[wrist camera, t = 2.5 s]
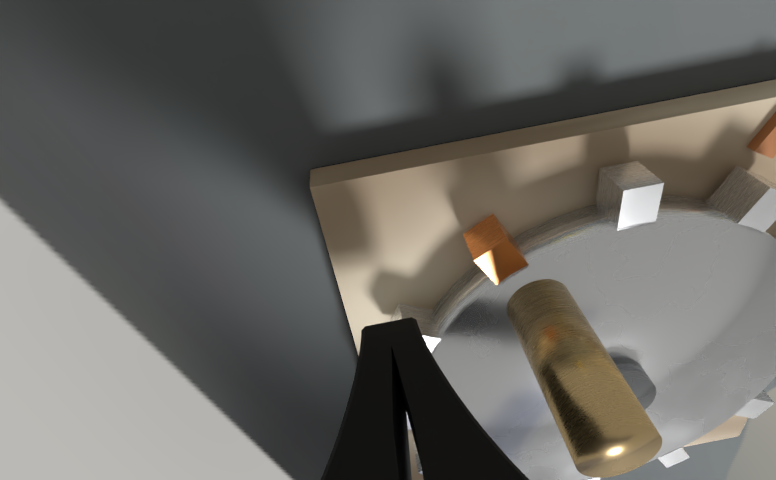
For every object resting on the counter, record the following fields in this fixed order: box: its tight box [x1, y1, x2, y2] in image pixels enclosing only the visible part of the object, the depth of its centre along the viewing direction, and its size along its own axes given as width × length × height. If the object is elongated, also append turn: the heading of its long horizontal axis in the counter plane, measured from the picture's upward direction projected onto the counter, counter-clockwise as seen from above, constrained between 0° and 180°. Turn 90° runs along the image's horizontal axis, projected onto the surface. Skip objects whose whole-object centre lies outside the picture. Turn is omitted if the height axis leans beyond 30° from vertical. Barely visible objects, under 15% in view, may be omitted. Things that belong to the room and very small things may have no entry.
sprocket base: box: [310, 79, 776, 480], centre depth 17 cm, size 17×16×1 cm
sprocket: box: [389, 161, 776, 480], centre depth 15 cm, size 15×15×6 cm
